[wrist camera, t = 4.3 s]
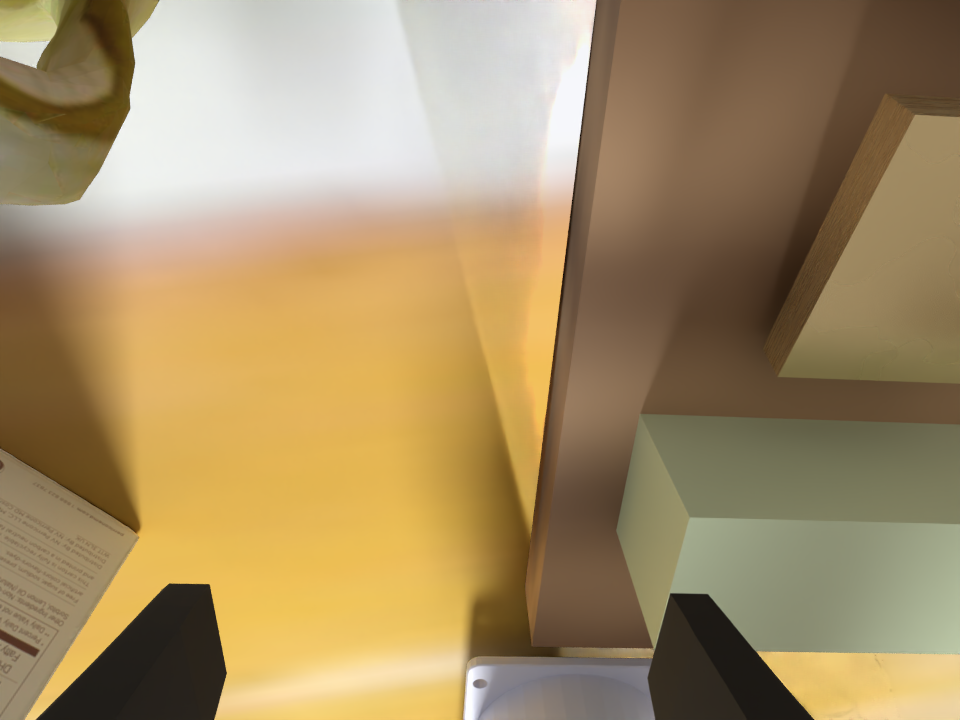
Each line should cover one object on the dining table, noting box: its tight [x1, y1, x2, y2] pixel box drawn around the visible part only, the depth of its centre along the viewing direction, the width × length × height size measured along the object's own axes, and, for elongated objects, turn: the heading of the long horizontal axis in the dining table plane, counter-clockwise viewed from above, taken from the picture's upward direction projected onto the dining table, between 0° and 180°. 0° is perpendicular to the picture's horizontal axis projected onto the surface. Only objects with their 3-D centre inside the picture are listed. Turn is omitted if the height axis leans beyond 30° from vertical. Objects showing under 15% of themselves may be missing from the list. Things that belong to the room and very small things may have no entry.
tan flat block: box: [762, 93, 960, 384], centre depth 13 cm, size 6×5×1 cm
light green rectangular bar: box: [616, 414, 960, 654], centre depth 16 cm, size 4×12×4 cm, turn 87°
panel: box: [525, 0, 960, 648], centre depth 16 cm, size 24×14×4 cm, turn 177°
